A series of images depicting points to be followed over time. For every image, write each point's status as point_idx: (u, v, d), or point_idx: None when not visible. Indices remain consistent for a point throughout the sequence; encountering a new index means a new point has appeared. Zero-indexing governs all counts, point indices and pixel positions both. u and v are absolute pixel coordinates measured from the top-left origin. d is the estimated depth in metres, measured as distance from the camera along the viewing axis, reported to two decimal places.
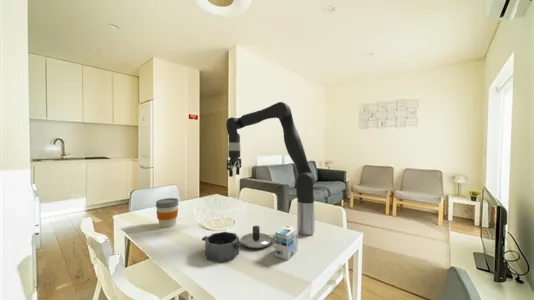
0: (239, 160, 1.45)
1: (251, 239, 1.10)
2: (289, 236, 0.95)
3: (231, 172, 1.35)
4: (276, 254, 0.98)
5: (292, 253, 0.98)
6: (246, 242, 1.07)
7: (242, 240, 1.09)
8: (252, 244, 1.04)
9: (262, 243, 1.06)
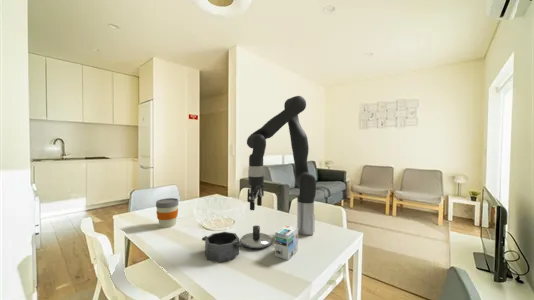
0: (261, 187, 1.15)
1: (251, 239, 1.10)
2: (289, 236, 0.95)
3: (253, 205, 1.05)
4: (276, 254, 0.98)
5: (292, 253, 0.98)
6: (246, 242, 1.07)
7: (242, 240, 1.09)
8: (252, 244, 1.04)
9: (262, 243, 1.06)
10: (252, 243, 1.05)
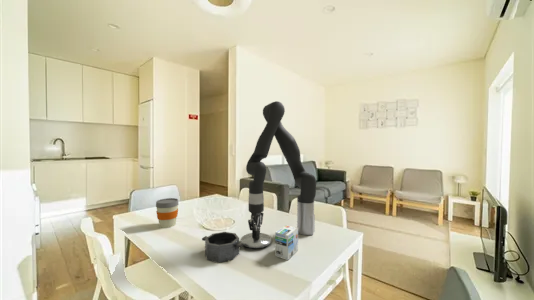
0: (261, 214, 1.15)
1: (251, 239, 1.10)
2: (289, 236, 0.95)
3: (255, 233, 1.08)
4: (276, 254, 0.98)
5: (292, 253, 0.98)
6: (247, 242, 1.06)
7: (242, 240, 1.08)
8: (253, 244, 1.04)
9: (263, 243, 1.06)
10: (253, 243, 1.05)
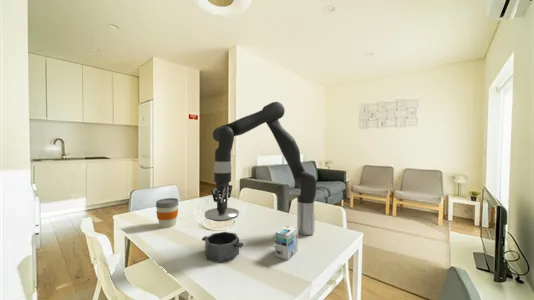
0: (229, 187, 1.05)
1: (216, 212, 0.99)
2: (289, 236, 0.95)
3: (220, 205, 0.97)
4: (276, 254, 0.98)
5: (292, 253, 0.98)
6: (210, 215, 0.96)
7: (206, 213, 0.98)
8: (216, 216, 0.94)
9: (228, 215, 0.95)
10: (216, 216, 0.95)
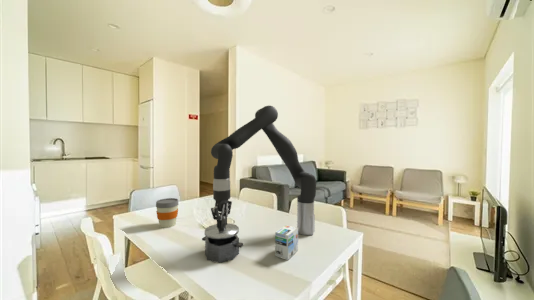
0: (229, 203, 1.04)
1: (216, 229, 0.99)
2: (289, 236, 0.95)
3: (220, 222, 0.97)
4: (276, 254, 0.98)
5: (292, 253, 0.98)
6: (210, 233, 0.96)
7: (206, 231, 0.98)
8: (216, 234, 0.94)
9: (228, 233, 0.95)
10: (216, 234, 0.95)
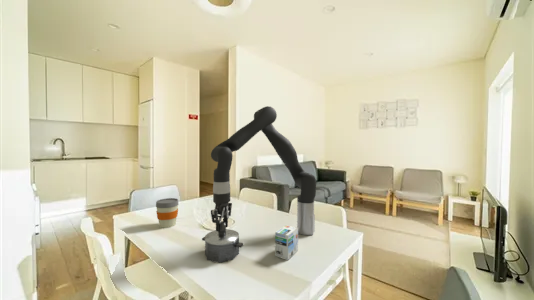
0: (229, 205, 1.05)
1: (216, 236, 0.99)
2: (289, 236, 0.95)
3: (219, 226, 0.96)
4: (276, 254, 0.98)
5: (292, 253, 0.98)
6: (210, 239, 0.96)
7: (206, 237, 0.98)
8: (216, 241, 0.94)
9: (228, 240, 0.95)
10: (216, 240, 0.95)
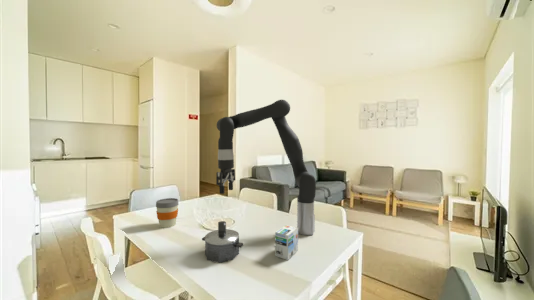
0: (232, 171, 1.14)
1: (216, 236, 0.99)
2: (289, 236, 0.95)
3: (222, 188, 1.04)
4: (276, 254, 0.98)
5: (292, 253, 0.98)
6: (210, 239, 0.96)
7: (206, 237, 0.98)
8: (216, 241, 0.94)
9: (228, 240, 0.95)
10: (216, 240, 0.95)
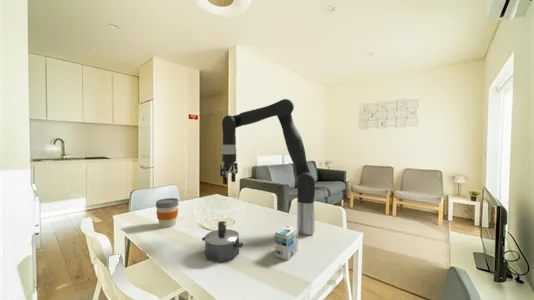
0: (235, 165, 1.26)
1: (216, 236, 0.99)
2: (289, 236, 0.95)
3: (225, 179, 1.16)
4: (276, 254, 0.98)
5: (292, 253, 0.98)
6: (210, 239, 0.96)
7: (206, 237, 0.98)
8: (216, 241, 0.94)
9: (228, 240, 0.95)
10: (216, 240, 0.95)
